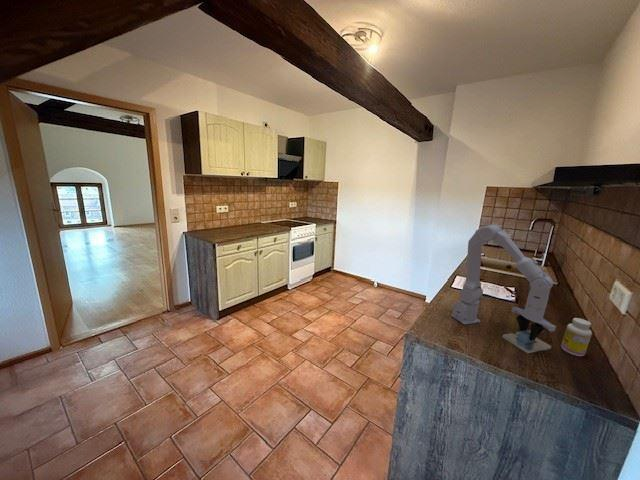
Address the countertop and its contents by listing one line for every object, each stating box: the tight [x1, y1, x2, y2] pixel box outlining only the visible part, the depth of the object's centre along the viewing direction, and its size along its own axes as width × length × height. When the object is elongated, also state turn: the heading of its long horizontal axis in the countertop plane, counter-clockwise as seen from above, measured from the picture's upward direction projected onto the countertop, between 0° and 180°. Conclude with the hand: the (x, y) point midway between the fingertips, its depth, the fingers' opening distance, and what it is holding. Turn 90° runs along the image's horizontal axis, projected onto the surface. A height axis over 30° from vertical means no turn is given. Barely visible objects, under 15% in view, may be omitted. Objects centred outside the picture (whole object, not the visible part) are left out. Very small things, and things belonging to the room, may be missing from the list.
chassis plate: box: [501, 331, 552, 354], centre depth 101 cm, size 12×10×1 cm
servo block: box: [517, 329, 535, 345], centre depth 100 cm, size 5×3×5 cm, turn 106°
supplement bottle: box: [560, 317, 593, 357], centre depth 95 cm, size 7×7×13 cm
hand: (527, 337), depth 100 cm, fingers closed on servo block, 3 cm apart
